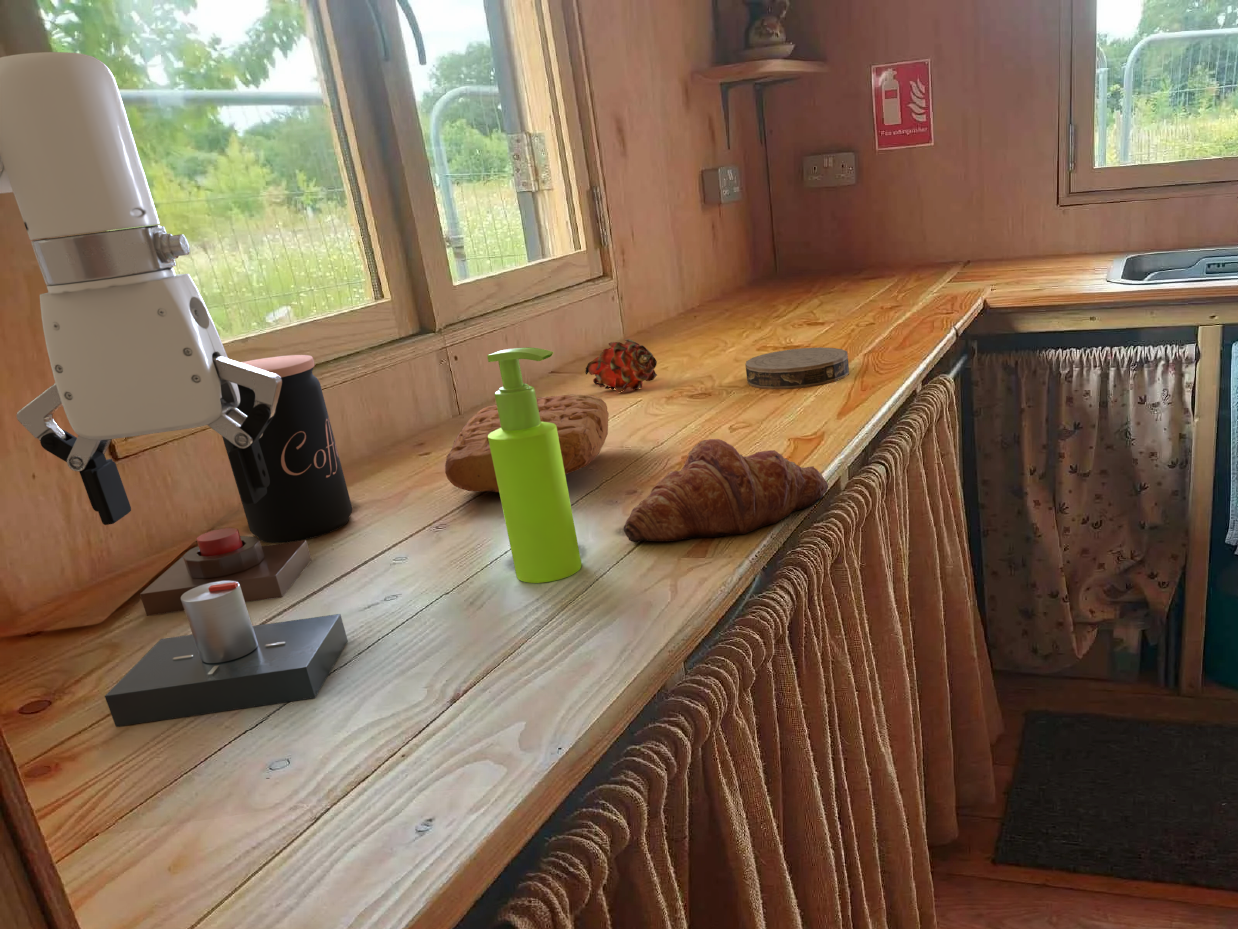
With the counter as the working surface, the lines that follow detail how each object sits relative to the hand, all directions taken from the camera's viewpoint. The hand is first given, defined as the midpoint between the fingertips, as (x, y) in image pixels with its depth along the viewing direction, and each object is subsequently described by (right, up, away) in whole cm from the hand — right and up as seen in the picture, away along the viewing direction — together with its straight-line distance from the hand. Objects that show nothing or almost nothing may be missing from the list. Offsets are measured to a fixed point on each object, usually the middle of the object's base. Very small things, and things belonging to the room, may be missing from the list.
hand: (187, 508), depth 78 cm
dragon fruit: (+18, +25, +95) cm, 100 cm away
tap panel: (+1, -13, +5) cm, 14 cm away
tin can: (+46, +26, +91) cm, 105 cm away
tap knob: (+1, -10, +4) cm, 11 cm away
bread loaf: (+14, +7, +52) cm, 54 cm away
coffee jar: (-10, 0, +42) cm, 43 cm away
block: (-9, -6, +26) cm, 28 cm away
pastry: (+38, +1, +30) cm, 48 cm away
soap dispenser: (+22, -4, +21) cm, 31 cm away
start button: (-10, -2, +25) cm, 27 cm away
